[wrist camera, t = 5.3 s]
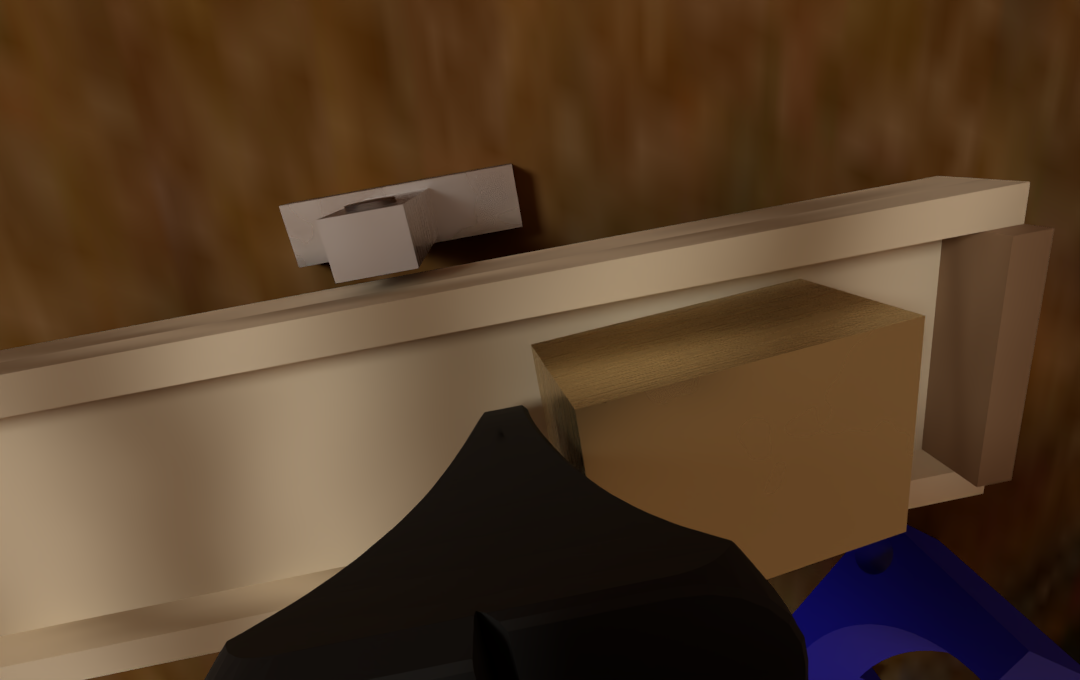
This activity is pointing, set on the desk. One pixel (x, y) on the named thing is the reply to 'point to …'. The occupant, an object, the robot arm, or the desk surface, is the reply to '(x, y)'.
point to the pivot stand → (399, 221)
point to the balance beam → (432, 406)
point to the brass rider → (748, 417)
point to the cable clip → (919, 616)
